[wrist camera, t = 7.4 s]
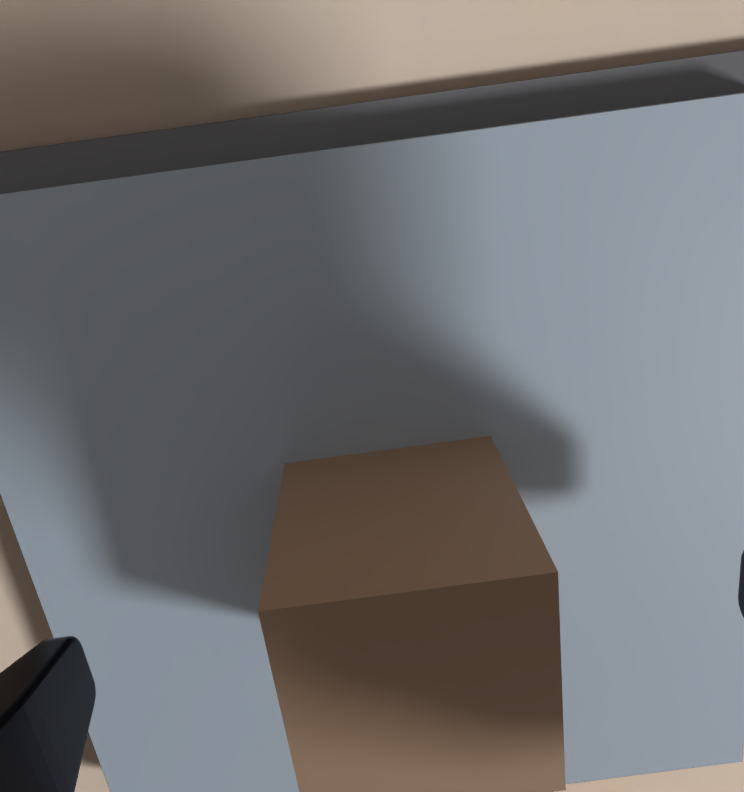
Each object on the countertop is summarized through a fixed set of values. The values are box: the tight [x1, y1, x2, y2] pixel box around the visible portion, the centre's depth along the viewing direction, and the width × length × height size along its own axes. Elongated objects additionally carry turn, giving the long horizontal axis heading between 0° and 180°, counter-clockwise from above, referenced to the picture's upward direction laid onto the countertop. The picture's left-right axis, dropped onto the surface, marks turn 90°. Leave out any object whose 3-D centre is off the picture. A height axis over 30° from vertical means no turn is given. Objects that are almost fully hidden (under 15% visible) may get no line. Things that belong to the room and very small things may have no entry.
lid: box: [0, 93, 744, 792], centre depth 10 cm, size 12×12×4 cm
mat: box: [0, 50, 744, 194], centre depth 12 cm, size 13×13×1 cm
